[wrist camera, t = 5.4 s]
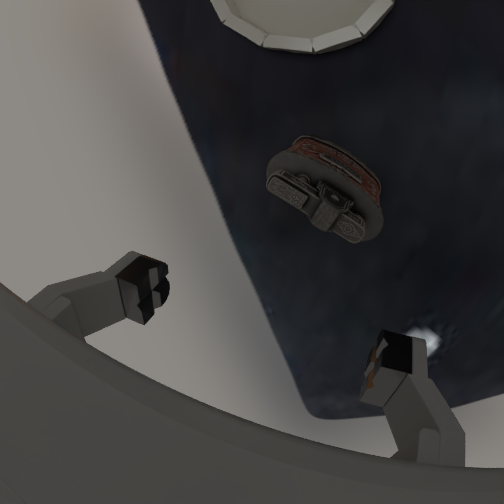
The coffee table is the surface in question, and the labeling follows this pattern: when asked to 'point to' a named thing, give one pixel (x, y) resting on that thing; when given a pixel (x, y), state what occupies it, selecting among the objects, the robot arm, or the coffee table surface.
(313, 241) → the coffee table surface
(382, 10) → the ring dish
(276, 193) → the lighter
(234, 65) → the coffee table surface
